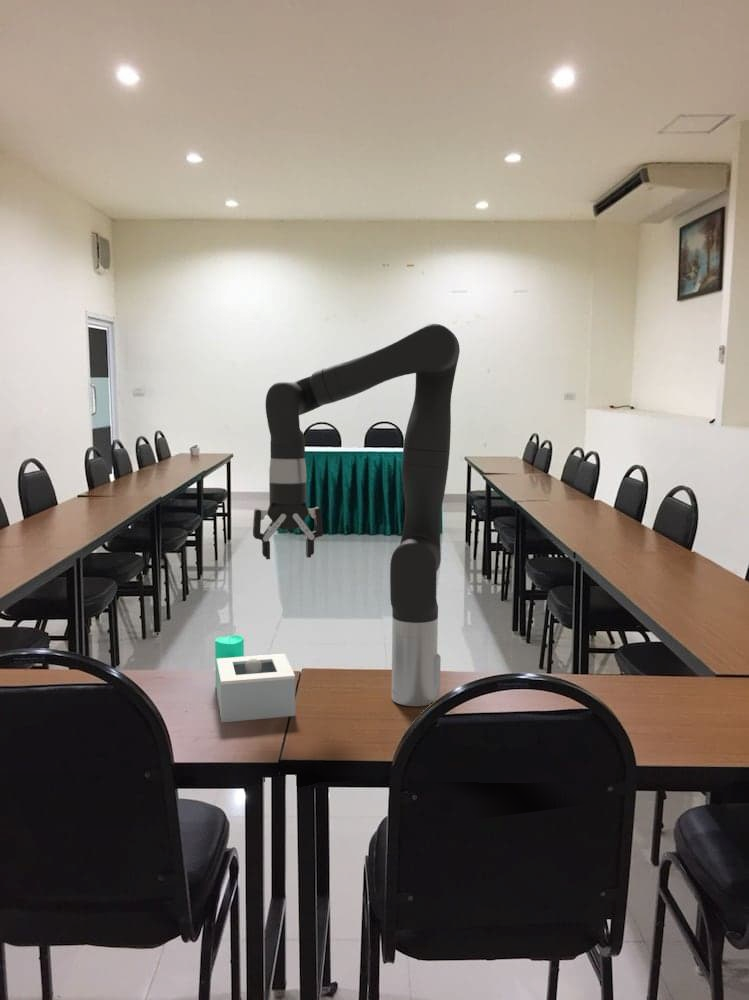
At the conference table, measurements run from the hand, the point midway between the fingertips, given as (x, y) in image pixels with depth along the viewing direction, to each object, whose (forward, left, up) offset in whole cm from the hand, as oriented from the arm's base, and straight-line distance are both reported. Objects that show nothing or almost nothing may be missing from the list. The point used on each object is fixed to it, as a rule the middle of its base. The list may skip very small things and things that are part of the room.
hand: (288, 557), depth 161 cm
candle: (+12, -4, -28) cm, 31 cm away
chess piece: (+8, +8, -28) cm, 30 cm away
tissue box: (+8, +8, -28) cm, 30 cm away
